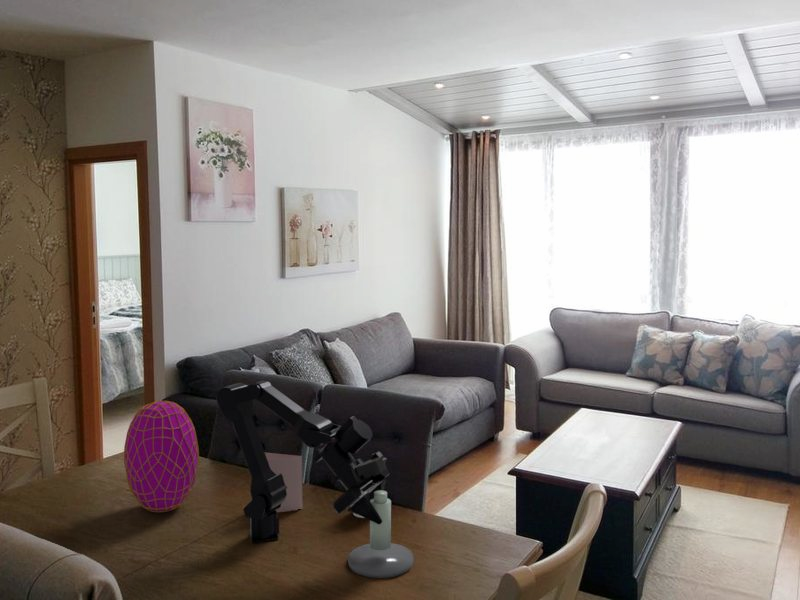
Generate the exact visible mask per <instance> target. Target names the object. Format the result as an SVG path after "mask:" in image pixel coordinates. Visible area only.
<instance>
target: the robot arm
mask: <svg viewBox="0 0 800 600" xmlns="http://www.w3.org/2000/svg"><path fill="white" fill-rule="evenodd" d="M215 400H216V404H217V406H218V408H219V409H220V412H221V413H222V415H223V416H224V417H226V419H227V420H229V421H230V422H231V424H232V425H233V429H234V432H235V434H236V437H237V439H238V443H239V446H240V448H241V451H242V454H243V456H244V460H245V463H246V465H247V468H248V470H249V474H250V476H251V481H250V489H249V492H250V497H251V500H250V502H248V504H247V505H246V506H244V508H243V509H242V510H243V513H244V517H245V518H249V528H250V529H249V531H248V534H249V538H250V542H251V543H253V544H254V543H262V542H268V541H269V542H270V541H276V540H279V534H280V518H279V515H278V512H277V513H276V510H277V509H278V508H280V507H281V504H282V502H283V501H284V500H285V498H286V496H287V492H286V489H287V486H286V485H285V483H284V480H283V476H282V474H281V473H280V474H278V475H276V474H275V473H274V472H273V471H272V470H271V469H270V466H269V463H268V460H267V458H266V455H265V453H266V452H265V449H264V447H263V445H262V442H261V439H260V435H259V433H258V431H257V427H256V425H255V421H254V419H253V416H252V414H253V406H254V401H253V400H256V401H258V402H259V403H261V404H262V405H263V406H265V407H266V408H267V409H269V410H270V411H271V412H273V413H274V414H275V415H276V416H278V417H280V418H281V419H282V420H283V421H285V422H286V423H287V424H289V425H290V426H291V427H292V428H293V429H294V432H295V434H296V436H297V438H299V439H300V440H301V442H302V443H303V444H304V445H306V447H308V448H311V449H313V448H317V447H319V446H322V445H324V444H326V445H324V446H323V448H320V447H319V448H318V449H315V451H314V459H313V460H314V461H313V462H314V463H318V462H319V461H321V460H323V461H324V463H325V464H326V465H327V466H328V468H329V469H330V470H331V471H332V473H333V474H334V475H335V477H333V480H334V481H335V483H337V482H339V481H340V483H341V485H342V486H343V487H344V488H345V489H346V490H345V492H344V493H341V495H340V496H339V497H338V498H337V499H335V501H333V509H334V511H335V512H336V514H338V515H340V514H342V513H343V512H344V511H346V510H347V512H348V513H349V512H350V513H352V514H353V513H355V514H358V515H360V516H362V517H365V518H364V519H367V520H369V521H370V520H371V521H373V522H375V523H377V524H381V523H382V519H381V518H380V516H379V514H378V513H377V511H376V510H375V508H374V507H373V505H372V504H371V502H370V500H371V499H373V498H374V492H375V491H379V490H383V491H385V485H386V481H387V480H386V478H387V477H388V476H389V475H390V474H391V472H390V471H389V470H388V468H387V465H386V462H387V457H385V456H384V454H382V452H380V451H376V452H374V453H372V454H371V455H370V459H368V460H366V461H363V460H362V459H361V458H357V459H355V458H354V456H353V455H352V454H357V453H358V451H360V450H361V449H362V448H363V447H364V446H365V445H366V444H367V443H368V442H370V441H371V439H372V438H373V430H372V429H371V427H370V425H368V423H365V422H364V421H363V420H361V419H357V417H356V416H355V415H353V416H350V417H349V418H348V419H346V421H345V423H344V424H343V425H340V424H336V423H333V422H332V421H331V420H330V419H328V418H327V417H324V416H323V415H320V414H318V413H313V412H312V411H311V412H310V411H308V410H306V409H304V408H303V407H301V406H300V405H298V404H297V403H296V402H294V401H293V400H292V399H290V398H289V397H288V396H286V395H285V394H284V393H282V392H281V391H279V389H277V388H276V387H274V386H273V385H272V384H271V382H269V380H259V381H256V382H255V383H251V384H245V383H243V382H237V383H234V384H230V385H227V386H224V387H222V388H220V389H219V390H218V391H217V394H216V396H215ZM334 439H335V441H334V442H333V440H334ZM365 491H366V492H367V494H364V492H365ZM348 507H349V508H348ZM347 508H348V509H347ZM392 514H393V512H392V510H391V515H392Z"/></svg>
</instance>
